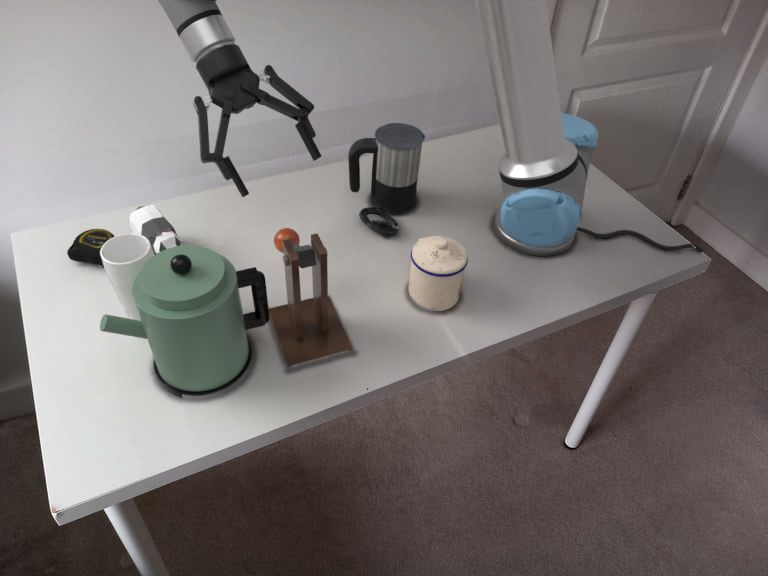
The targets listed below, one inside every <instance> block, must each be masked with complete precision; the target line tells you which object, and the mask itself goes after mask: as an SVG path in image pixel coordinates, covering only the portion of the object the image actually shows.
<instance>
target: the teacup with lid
mask: <svg viewBox="0 0 768 576" xmlns="http://www.w3.org/2000/svg"><path fill="white" fill-rule="evenodd" d="M410 259H411V263H410V270H409V271H410V272H409V279H408V288H407V289H408V293H409V296H410V298H411V299H412V300H413V301H414V302H415V303H417V304H418V305H420V306H422V307H425V308H428V309H431V311H432V312H442V311H447V310H449V309H451V308H453V307H454V306H455V305H456V304H457V303H458V301H459V298H460V294H461V289H462V284H463V279H464V274H465V270H466V267H467V266H468V263H469V256H468V252H467V251H466V249H465V247H464V246H463V245H462V244H461V243H460V242H458V241H457V240H456V239H453V238H450V237H448V236H447V237H446V236H443V235H430V236H427V237H420V238H419V239H418V240H417V242H416V243H415V244H414V245H413V247H412V249H411V251H410Z"/></svg>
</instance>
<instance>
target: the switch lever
mask: <svg viewBox="0 0 768 576" xmlns="http://www.w3.org/2000/svg"><path fill="white" fill-rule="evenodd" d="M287 239H290V241H291V244H292V246H293V248H294V250H295V253H296V255H297V257H298V260H299V269H305V268H311V267H312V266H315V265H317V263H316V257H315V252H314V248H313V247H311V244H305V245H301V244H300V243H301V238H300V235H299V234H298V232H297V231H296V230H295V229H293V228H290V227H283V228H280V229H279V230H278V231H276V233H275V235H274V237H273V244H274V247H275V249H276V250H277V251H278V252H279V253H282V254H284V253H283V240H287Z"/></svg>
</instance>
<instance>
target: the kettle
mask: <svg viewBox="0 0 768 576" xmlns="http://www.w3.org/2000/svg"><path fill="white" fill-rule="evenodd" d="M247 287H250V288H251V294H252V302H253V303H252V304H253V310H254V311H250V312H246V313H244V311H243V305H242V299H241V292H240V289H242V288H247ZM132 295H133V298H134V301H135V304H136V307H137V310H138V313H139V316H140V319H141V321H139V320H134V319H129V318H128V317H122V316H117V315H112V314H106V313H104V315H102V317H101V320H100V323H99V330H100V331H101V332H104V333H109V334H115V335H122V336H128V337H134V338H140V339H146V340H147V342H148V346H149V348H150V351H151V353H152V356H153V370H154V374H155V377H156V379H157V381H158V383H159V384H160V385H161V387H162V388H163V389H164V390H165V391H166V392H168V393H169V394H171V395H173V396H175V397H178V398H181V399H183V396H189V397H201V396H208V395H213V394H215V393H219V392H221V391H223V390H226V389H228V388H230V387H231V386H233V385H234V384H235V383H237V382H238V381H240V379H241V378H242V377H243V376H244V374H246V372H247V370H248V369H249V367H250V365H251V363H252V359H253V346H252V342H251V340H250V338H249V336H248V335H247V331H249V330H252V329H257V328H260V327H264V326H266V324H268V323H269V322H270V320H271V318H270V316H269V299H268V292H267V282H266V276H265V274H264V272H262V271H260V270H258V269H257V267H256V266H254V267H249V268H245V269H241V270H236V268H235V266H234V265H233V263H232V262H231V261H230V259H228V258H227V257H225V256H224V255H222V254H220V253H217V252H216V251H215V250H214V249H213V250H212V248H208V247H205V246H202V245H197V244H184V245H183V244H182V246H176V247H172V248H169V249H166V250H163V251H161V252H159V253H157V254H156V255H154V256H153V257H152V258H150V259H149V260H148V261H147V262H146V263H145V265H144V266H143V268H142V269H141V270H140V272H139V273H138V274H137V276H136V278H135V280H134V282H133V286H132Z"/></svg>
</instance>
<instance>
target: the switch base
mask: <svg viewBox="0 0 768 576" xmlns="http://www.w3.org/2000/svg"><path fill="white" fill-rule="evenodd" d="M320 237H321V236H320V235H319V233H318V232H316V233H311V234H310V246H311V247H313V248H314V252H315V257H316V263H317V265H315V266H311V273H312V274H311V275H312V277H311V278H312V295H313V296H312V297H311V298H306V299H303V300H302V294H301V280H300V279H301V278H300V267H299V260H298V257H297V255H296V253H295V250H294V248H293V246H292V244H291V241H290V239H287V240H283V253H282V254H283V256H282V262H283V265H284V275H285V276H284V277H285V286H286V288H285V289H286V300H287V303H286V304H282V305H278V306H273V307H270V308H269V316H270V321H271V323H272V327H273V329H274V332H275V335H276V338H277V341H278V343H279V346H280V349H281V352H282V355H283V357H284V359H285V363H286V365H287V367H292V366H296V365H299V364H303V363H307V362H311V361H314V360H318V359H321V358H325V357H328V356H329V357H330V356H333V355H336V354H339V353H343V352H346V351H347V352H348V351H351V350H353V346H352V344H351V342H350V340H349V337H348V336H347V333H346V331H345V329H344V327H343V325H342V323H341V320H340V318H339V316H338V314H337V312H336V309H335V307H334V305H333V303H332V302H331V300H330V297H329V280H328V277H329V276H328V271H329V270H328V254H329V253H328V250H327V247H325V245H324V243H323V242H322V240H321V238H320Z"/></svg>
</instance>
